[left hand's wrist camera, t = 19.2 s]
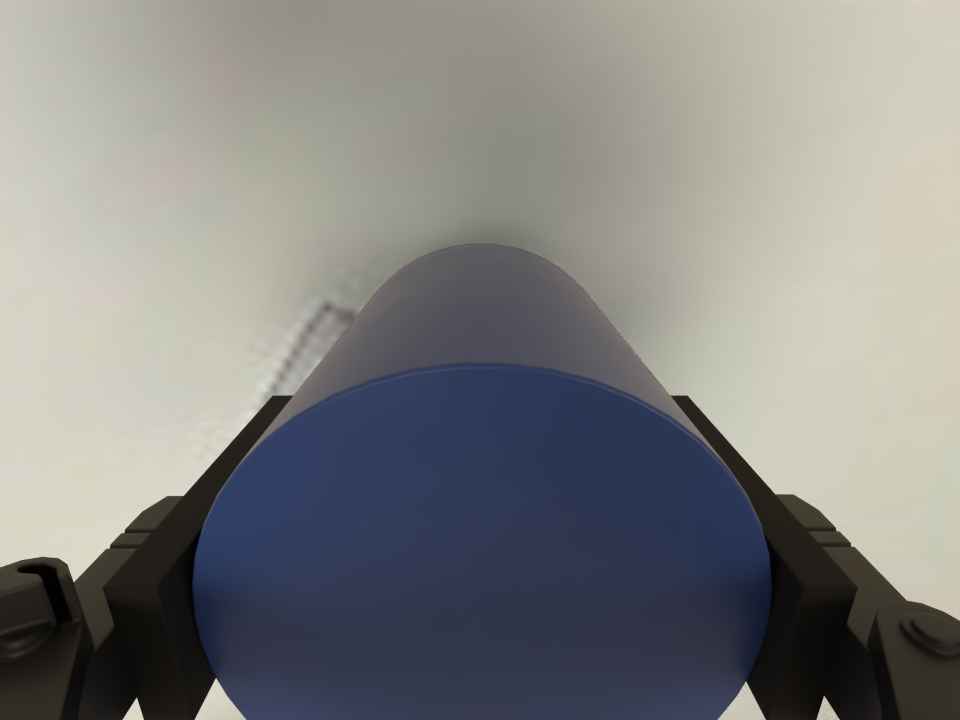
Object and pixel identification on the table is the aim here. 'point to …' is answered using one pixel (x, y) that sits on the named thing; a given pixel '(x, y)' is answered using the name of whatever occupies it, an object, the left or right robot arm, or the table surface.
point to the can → (481, 522)
